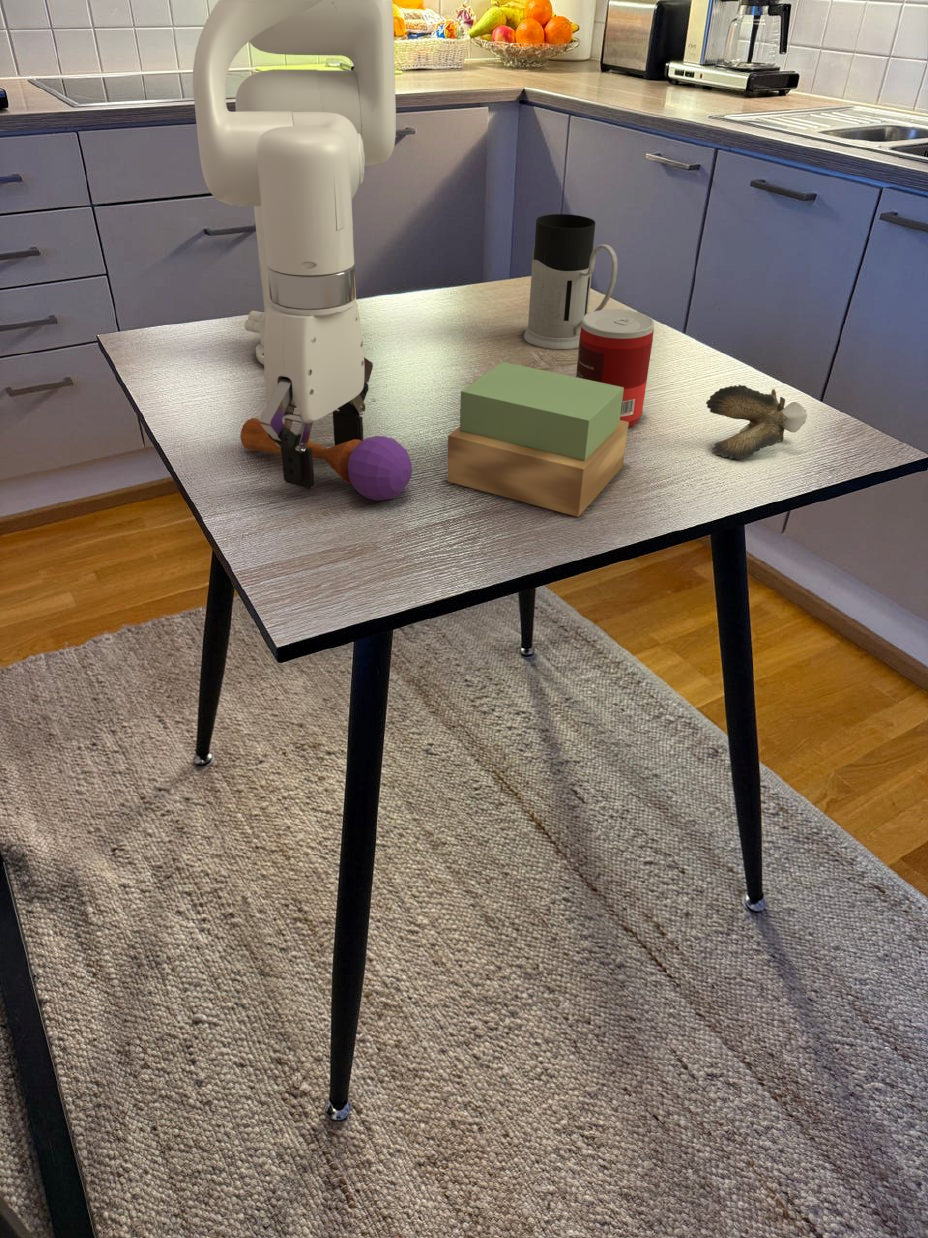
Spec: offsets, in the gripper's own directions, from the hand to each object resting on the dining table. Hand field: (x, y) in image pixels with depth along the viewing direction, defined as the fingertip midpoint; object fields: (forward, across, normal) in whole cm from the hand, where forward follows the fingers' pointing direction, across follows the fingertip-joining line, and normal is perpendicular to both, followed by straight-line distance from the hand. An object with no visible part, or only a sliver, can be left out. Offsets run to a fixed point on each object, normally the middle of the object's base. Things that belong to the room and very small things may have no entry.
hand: (325, 466), depth 92 cm
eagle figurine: (+1, -29, +35) cm, 45 cm away
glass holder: (+1, -48, +6) cm, 48 cm away
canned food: (+1, -28, +19) cm, 34 cm away
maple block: (+1, -11, +18) cm, 21 cm away
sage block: (-4, -11, +18) cm, 21 cm away
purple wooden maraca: (+1, 0, 0) cm, 1 cm away
